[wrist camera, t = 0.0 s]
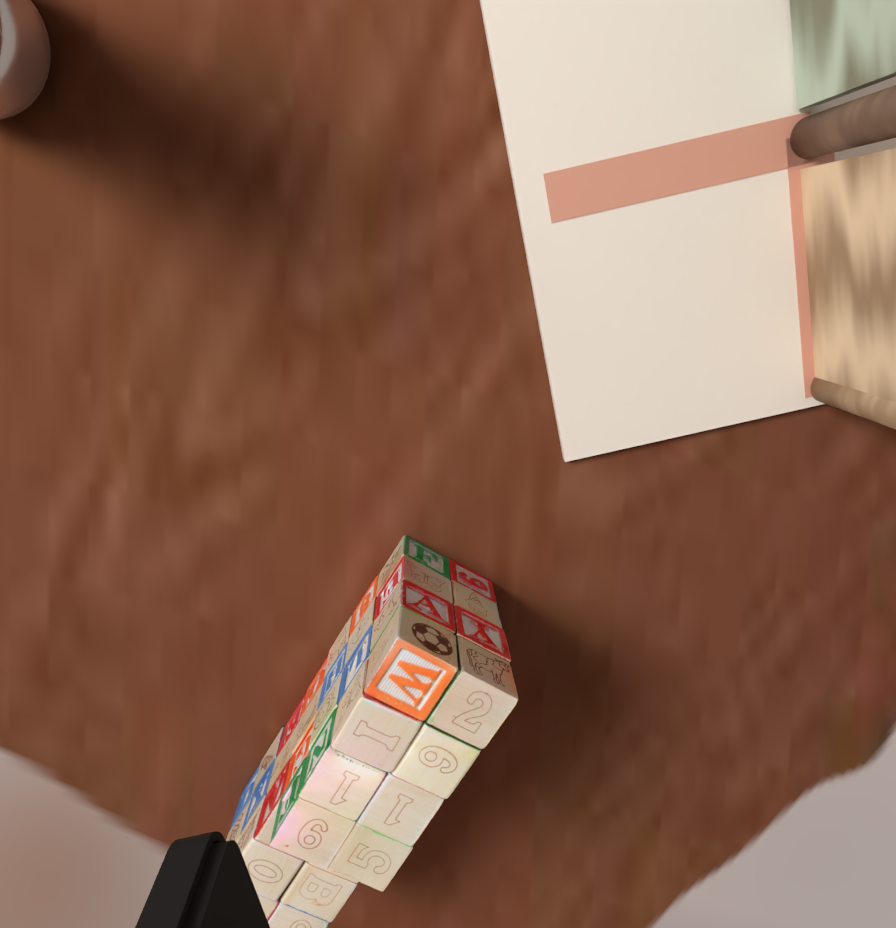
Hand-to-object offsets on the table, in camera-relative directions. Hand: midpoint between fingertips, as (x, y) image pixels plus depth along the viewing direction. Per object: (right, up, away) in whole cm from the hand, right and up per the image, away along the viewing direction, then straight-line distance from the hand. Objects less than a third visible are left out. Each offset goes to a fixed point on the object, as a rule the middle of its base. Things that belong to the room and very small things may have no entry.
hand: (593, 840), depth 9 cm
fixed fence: (+18, +15, +28) cm, 37 cm away
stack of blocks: (-7, -9, +35) cm, 37 cm away
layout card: (+11, +21, +27) cm, 36 cm away
